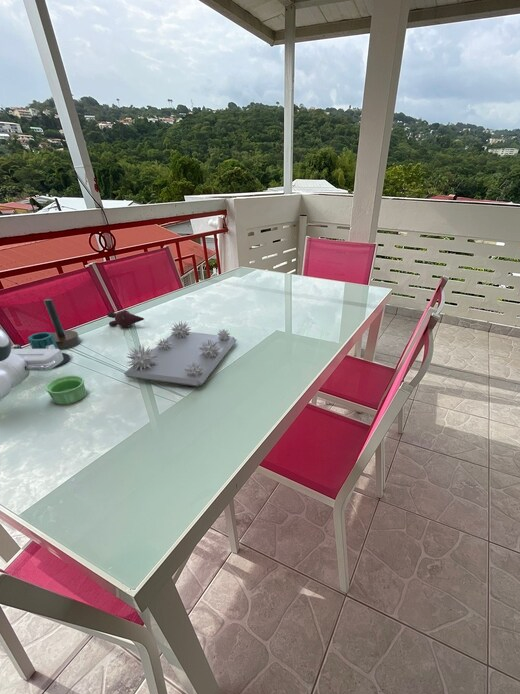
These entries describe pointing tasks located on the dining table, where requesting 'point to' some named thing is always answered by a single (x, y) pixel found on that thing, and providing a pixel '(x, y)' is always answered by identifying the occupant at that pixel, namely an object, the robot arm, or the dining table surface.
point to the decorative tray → (180, 357)
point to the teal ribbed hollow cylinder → (42, 340)
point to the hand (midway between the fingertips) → (35, 346)
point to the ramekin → (66, 389)
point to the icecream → (123, 318)
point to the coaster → (65, 360)
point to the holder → (61, 329)
